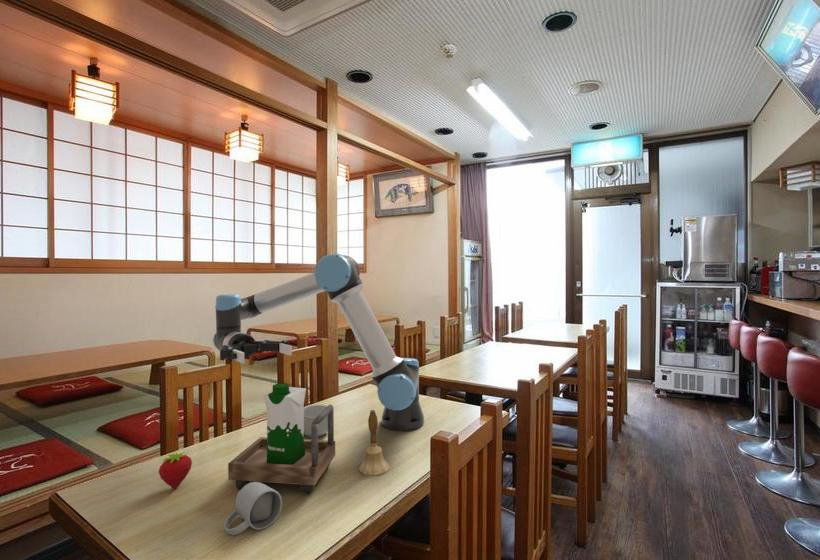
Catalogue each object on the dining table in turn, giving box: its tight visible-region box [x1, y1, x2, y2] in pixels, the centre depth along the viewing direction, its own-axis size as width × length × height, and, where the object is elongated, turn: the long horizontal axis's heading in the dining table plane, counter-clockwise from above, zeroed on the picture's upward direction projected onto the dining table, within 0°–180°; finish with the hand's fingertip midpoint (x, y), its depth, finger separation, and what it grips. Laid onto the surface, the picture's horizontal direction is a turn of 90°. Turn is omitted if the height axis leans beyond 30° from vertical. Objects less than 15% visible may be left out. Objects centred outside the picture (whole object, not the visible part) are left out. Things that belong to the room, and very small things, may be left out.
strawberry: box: [158, 449, 193, 489], centre depth 101 cm, size 6×8×10 cm
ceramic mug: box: [223, 481, 283, 536], centre depth 87 cm, size 11×8×8 cm
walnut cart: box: [227, 404, 336, 495], centre depth 106 cm, size 22×16×18 cm
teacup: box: [304, 404, 328, 438], centre depth 135 cm, size 14×11×8 cm
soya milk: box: [263, 382, 307, 465], centre depth 106 cm, size 9×9×20 cm
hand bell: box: [358, 409, 390, 477], centre depth 111 cm, size 8×8×16 cm
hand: (267, 354), depth 112 cm, fingers open, 13 cm apart
